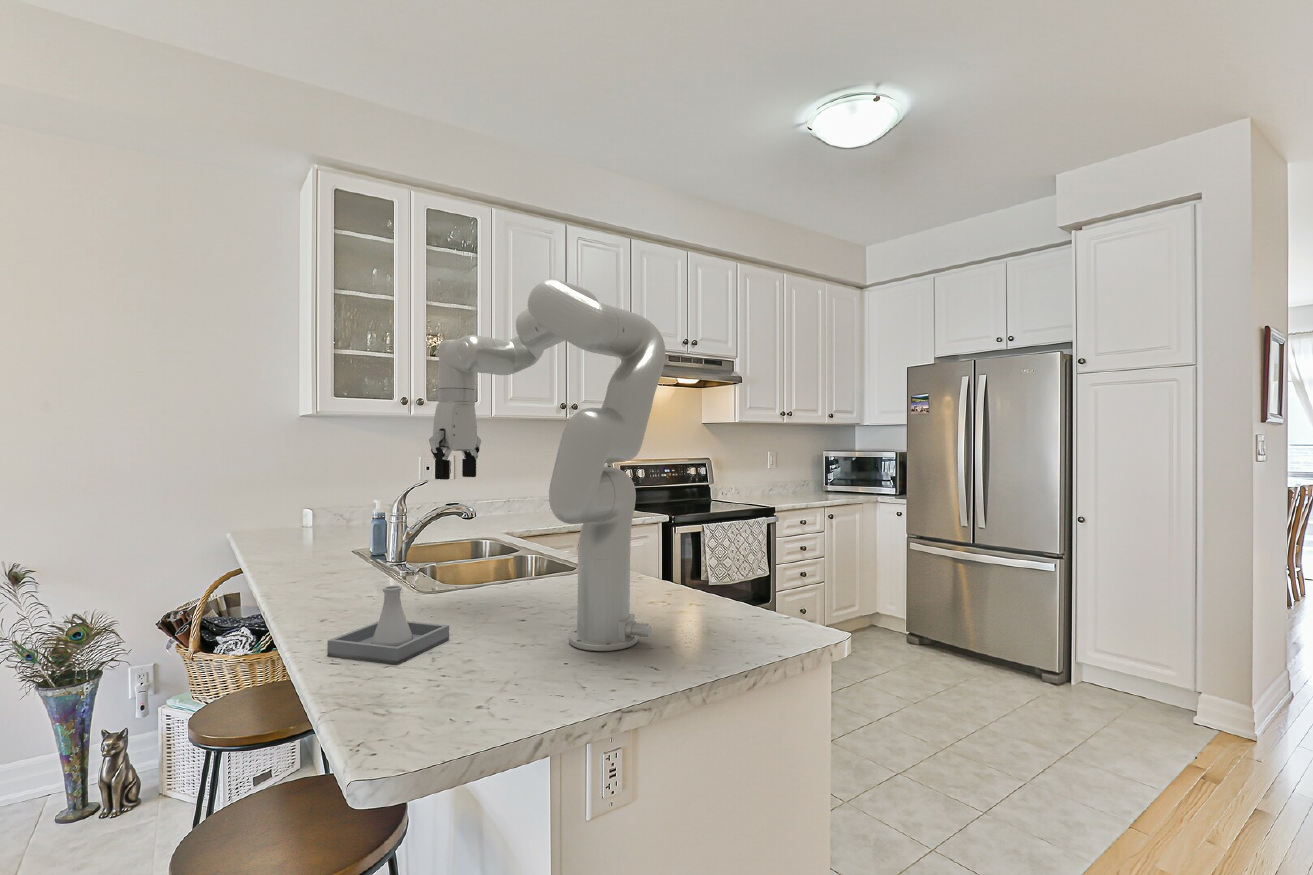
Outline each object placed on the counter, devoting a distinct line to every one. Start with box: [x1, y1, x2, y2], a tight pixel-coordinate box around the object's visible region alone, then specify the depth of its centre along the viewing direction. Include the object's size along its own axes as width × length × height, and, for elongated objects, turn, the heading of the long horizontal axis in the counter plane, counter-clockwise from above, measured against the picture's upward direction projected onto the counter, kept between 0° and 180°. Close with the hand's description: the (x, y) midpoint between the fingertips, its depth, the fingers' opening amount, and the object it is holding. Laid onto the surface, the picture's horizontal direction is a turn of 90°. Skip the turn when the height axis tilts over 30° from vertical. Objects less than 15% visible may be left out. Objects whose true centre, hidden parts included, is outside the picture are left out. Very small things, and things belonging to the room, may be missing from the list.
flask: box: [371, 584, 413, 647], centre depth 114 cm, size 7×7×10 cm
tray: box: [326, 620, 450, 666], centre depth 113 cm, size 14×14×3 cm
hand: (456, 478), depth 139 cm, fingers open, 9 cm apart
